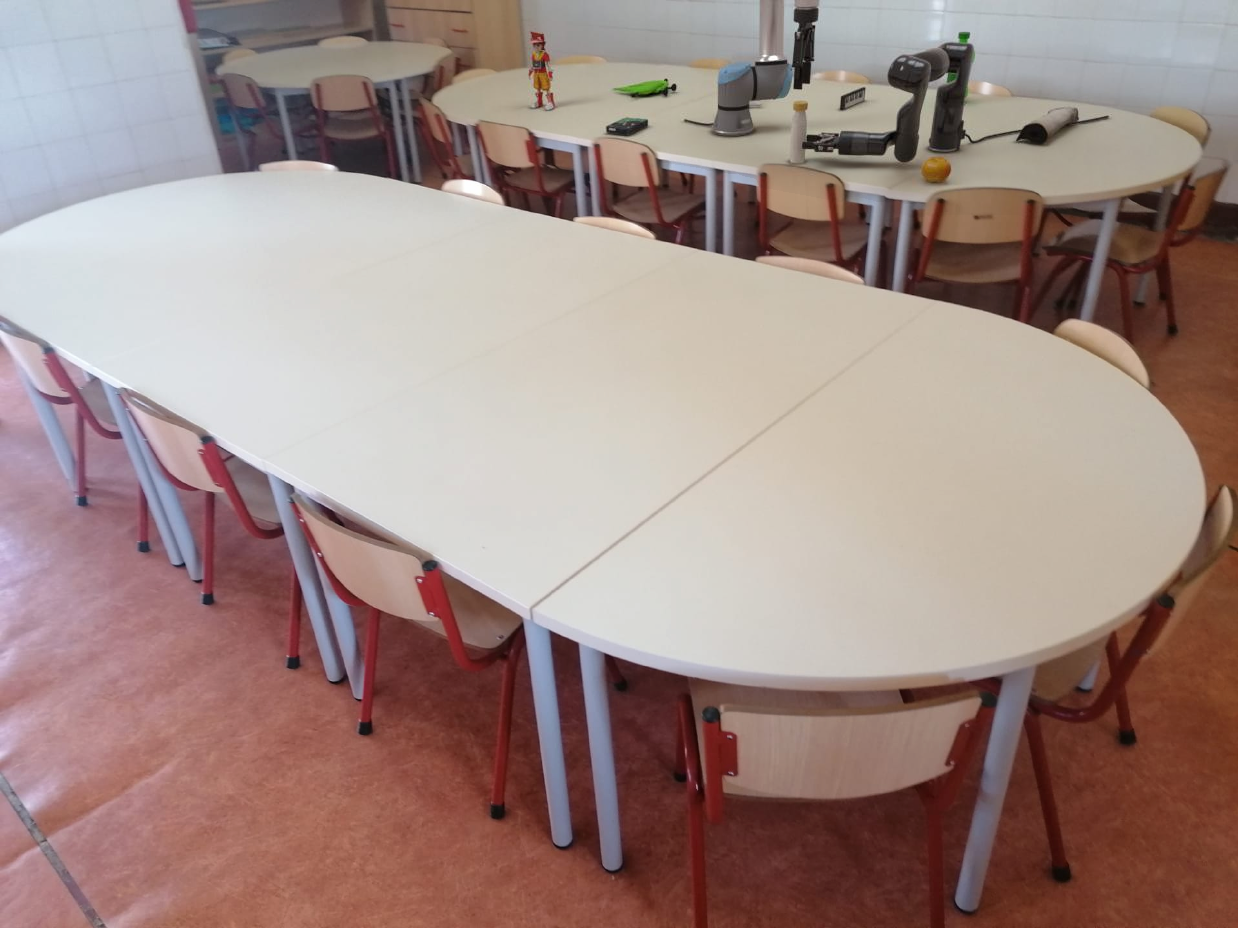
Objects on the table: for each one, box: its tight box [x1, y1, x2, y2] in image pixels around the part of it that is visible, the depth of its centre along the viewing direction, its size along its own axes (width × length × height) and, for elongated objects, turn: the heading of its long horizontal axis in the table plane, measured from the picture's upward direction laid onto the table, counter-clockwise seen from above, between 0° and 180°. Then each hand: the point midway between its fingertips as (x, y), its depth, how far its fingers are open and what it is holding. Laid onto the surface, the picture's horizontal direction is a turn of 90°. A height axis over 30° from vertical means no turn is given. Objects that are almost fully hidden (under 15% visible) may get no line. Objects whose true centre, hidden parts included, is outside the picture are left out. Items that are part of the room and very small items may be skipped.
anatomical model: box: [749, 100, 763, 109], centre depth 366 cm, size 15×10×10 cm
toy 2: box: [612, 78, 677, 99], centre depth 396 cm, size 28×5×30 cm
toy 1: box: [527, 31, 556, 111], centre depth 374 cm, size 12×9×30 cm
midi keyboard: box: [839, 86, 867, 111], centre depth 358 cm, size 18×1×5 cm, turn 138°
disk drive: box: [605, 116, 649, 136], centre depth 345 cm, size 10×3×15 cm
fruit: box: [921, 156, 952, 183], centre depth 276 cm, size 8×8×8 cm
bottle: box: [789, 110, 808, 164], centre depth 297 cm, size 5×5×19 cm
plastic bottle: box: [946, 31, 976, 99], centre depth 348 cm, size 10×10×25 cm
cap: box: [792, 100, 809, 112], centre depth 292 cm, size 4×4×2 cm
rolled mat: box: [1015, 106, 1080, 145], centre depth 311 cm, size 30×9×10 cm
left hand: (801, 86), depth 288 cm, fingers open, 7 cm apart
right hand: (804, 141), depth 297 cm, fingers open, 8 cm apart
